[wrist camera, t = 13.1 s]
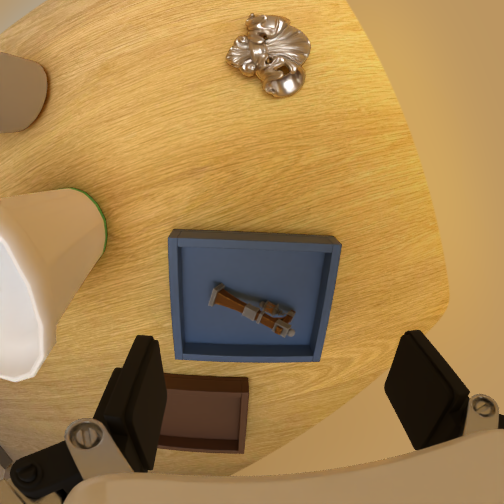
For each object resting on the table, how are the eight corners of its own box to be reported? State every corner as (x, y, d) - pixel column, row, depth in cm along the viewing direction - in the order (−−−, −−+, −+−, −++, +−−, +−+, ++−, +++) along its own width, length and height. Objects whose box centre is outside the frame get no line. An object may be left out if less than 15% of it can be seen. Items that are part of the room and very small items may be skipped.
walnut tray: (248, 377, 34) (249, 393, 31) (243, 439, 38) (244, 453, 36) (123, 368, 33) (118, 382, 30) (140, 431, 37) (137, 445, 35)
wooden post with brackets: (299, 325, 30) (288, 346, 26) (227, 291, 32) (206, 306, 28) (306, 310, 29) (296, 330, 25) (232, 275, 31) (212, 289, 27)
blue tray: (333, 235, 29) (342, 244, 26) (314, 347, 33) (319, 361, 30) (173, 228, 28) (167, 237, 25) (178, 344, 32) (175, 359, 29)
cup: (28, 275, 28) (-55, 350, 14) (26, 163, 24) (-88, 193, 10) (125, 297, 30) (63, 405, 15) (132, 172, 26) (32, 209, 11)
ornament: (216, 26, 22) (213, 11, 18) (292, 13, 21) (300, -3, 18) (237, 107, 24) (237, 101, 21) (315, 92, 24) (327, 85, 21)
